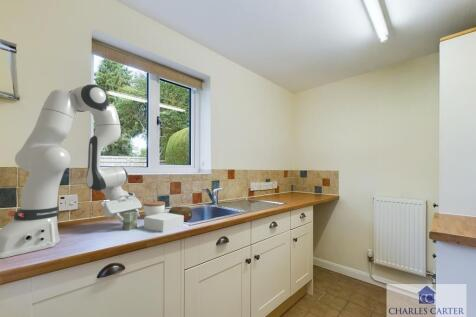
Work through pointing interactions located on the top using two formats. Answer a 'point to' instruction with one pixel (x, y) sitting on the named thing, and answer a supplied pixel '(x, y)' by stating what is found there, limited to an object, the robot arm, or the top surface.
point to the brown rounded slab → (182, 212)
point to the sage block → (130, 220)
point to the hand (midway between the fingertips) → (131, 219)
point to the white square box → (163, 221)
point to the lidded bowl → (154, 207)
